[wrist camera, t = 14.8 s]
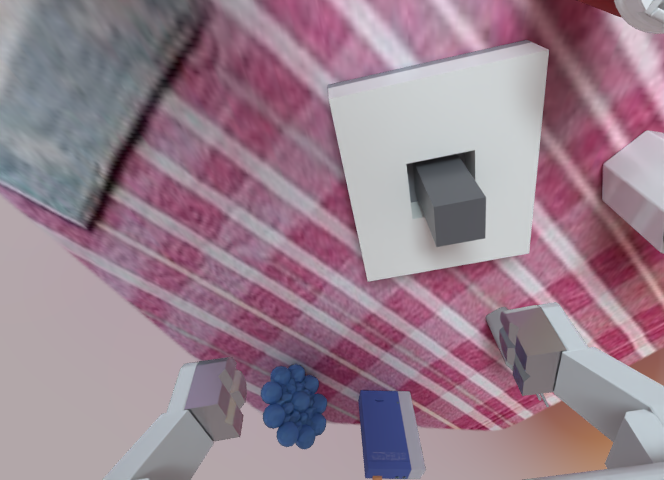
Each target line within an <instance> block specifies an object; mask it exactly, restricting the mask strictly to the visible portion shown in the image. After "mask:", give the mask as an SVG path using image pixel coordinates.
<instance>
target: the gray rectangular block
mask: <svg viewBox="0 0 664 480" xmlns="http://www.w3.org/2000/svg"><path fill="white" fill-rule="evenodd" d="M413 173H414V183H415V193H416V196H417V198H418V201H419V204H420V206H421V209H422V211H423V214H424V216H425V219H426V221H427V224H428V227H429V229H430V232H431V234H432V237H433V239H434V242H435V245H436V247H440V246H446V245H451V244H457V243H463V242H468V241H474V240H479V239H485V229H486V196H485V195H484V193H483V192H482V190H481V189H480V187H479V186H478V184H477V183H476V181H475V180H474V178H473V177H472V175H471V174H470V172H469V171H468V169H467V168H466V166H465V165H464V163H463V162H462V160H461V159H460V157H459V156H458V154H453V155H448V156H443V157H438V158H433V159H428V160H423V161H419V162H414V163H413Z"/></svg>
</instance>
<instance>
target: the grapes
mask: <svg viewBox="0 0 664 480" xmlns="http://www.w3.org/2000/svg"><path fill="white" fill-rule="evenodd" d="M270 379H271V381H270V382H267V383H266V384H265V385H263V387H262V390H261V397H262V400H263V401H264V402H265V403H267V404H270V405H269V406H268V407H267V408H266V409H265V411H264V413H263V421H264V423H265V425H266V426H267V427H269V428H273V429H274V428H277V427H279V428H278V431H277V439H278V442H279V443H280V444H281V445H282V446H285V447H289V446H292V445H293V444H294V443H296V445H297V446H298V447H299V448H301V449H307V448H310V447H311V446H312V445H313V443H314V440H315V436H317V435H321V434H322V433H323V431H324V430H325V427H326V419H325V417H324V416H323V415H322V413H323V412H324V411H325V409H326V407H327V399H326V398H325V397H324V396H323V395H322V394H315V393H316V392H317V390H318V387H319V381H318V379H317V378H316V377H314V376H312V375H307V376H305V370H304V368H303V367H302V366H300V365H297V364H295V365H291V366H290V367H289V368H288V369H287V368H286V367H283V366H279V367H276V368H275V369H273V371H272V373H271V378H270Z"/></svg>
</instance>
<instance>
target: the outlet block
mask: <svg viewBox="0 0 664 480" xmlns="http://www.w3.org/2000/svg"><path fill="white" fill-rule="evenodd" d="M548 56H549V50H548V49H546V48H544V47H542V46H539V45H537V44H535V43H533V42H531V41H529V40H524V41H519V42H515V43H511V44H506V45H502V46H497V47H493V48H489V49H484V50H480V51H475V52H471V53H467V54H462V55H458V56H453V57H449V58H445V59H440V60H436V61H431V62H427V63H423V64H418V65H414V66H409V67H405V68H401V69H396V70H392V71H387V72H383V73H379V74H374V75H370V76H365V77H361V78H357V79H352V80H348V81H343V82H339V83H335V84H330V85H328V97H329V103H330V108H331V112H332V117H333V122H334V126H335V131H336V136H337V140H338V145H339V150H340V154H341V159H342V164H343V168H344V173H345V178H346V182H347V187H348V192H349V196H350V201H351V206H352V210H353V215H354V220H355V224H356V229H357V233H358V238H359V243H360V247H361V252H362V257H363V261H364V266H365V271H366V275H367V280H368V282H369V281H375V280H380V279H386V278H392V277H397V276H403V275H409V274H415V273H420V272H426V271H432V270H437V269H443V268H449V267H454V266H460V265H466V264H472V263H477V262H483V261H489V260H494V259H500V258H506V257H511V256H517V255H523V254H529V248H530V238H531V228H532V217H533V207H534V197H535V187H536V177H537V167H538V157H539V147H540V137H541V126H542V116H543V106H544V96H545V86H546V76H547V66H548ZM453 154H458V156H459V157H460V159H461V160H462V162H463V163H464V165H465V166H466V168H467V169H468V171H469V172H470V174H471V175H472V177H473V178H474V180H475V181H476V183H477V184H478V186H479V187H480V189H481V190H482V192H483V193H484V195H485V196H486V229H485V239H479V240H474V241H468V242H463V243H457V244H451V245H446V246H440V247H436V245H435V242H434V239H433V237H432V234H431V232H430V229H429V227H428V224H427V221H426V219H425V216H424V214H423V211H422V209H421V206H420V204H419V201H418V198H417V196H416V193H415V183H414V173H413V163H414V162H419V161H423V160H428V159H433V158H438V157H443V156H448V155H453Z"/></svg>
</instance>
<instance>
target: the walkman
mask: <svg viewBox="0 0 664 480" xmlns="http://www.w3.org/2000/svg"><path fill="white" fill-rule="evenodd" d="M358 401H359V413H360V424H361V435H362V446H363V457H364V468H365V478H372V479H373V480H382V478H389V479H420V478H421V476H422V474H424V473H425V470H426V467H425V464H424V459H423V454H422V448H421V444H420V438H419V433H418V429H417V424H416V419H415V414H414V409H413V404H412V399H411V394H410V392H408V391H366V390H361V391H360V396H359V400H358Z"/></svg>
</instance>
